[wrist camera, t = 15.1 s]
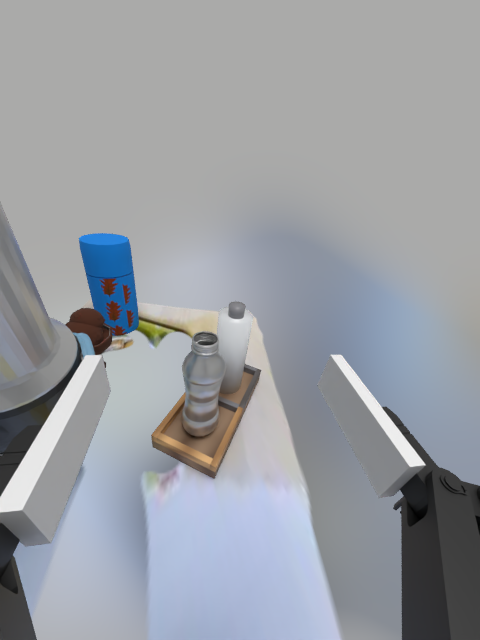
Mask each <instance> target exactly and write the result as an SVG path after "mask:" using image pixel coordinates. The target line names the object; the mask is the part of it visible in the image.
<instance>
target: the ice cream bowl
mask: <svg viewBox="0 0 480 640" xmlns="http://www.w3.org/2000/svg"><path fill="white" fill-rule="evenodd" d="M104 322H105V319H104V318H103V316H102V315H101V313H100V312H98V311H97V310H94V309H90V308H81V309H80V310H77V311H76V312H74V313H73V314H72V315H71V317H70V321H69V322H68V323H67V324H66V326H67V327H68V328H69V329H70V330H71V332H72V333H84V334H87V335H88V336H89V337H90V339H91V342H92V345H93V348H94V352H95V355H100V354H101V353H102V352H103V351H105V350H106V349H107V348H108V347H109V346H110V345H111V342H112V327H111V326H109V325H107V324H105V323H104ZM104 365H105V368H106V363H105V362H104Z"/></svg>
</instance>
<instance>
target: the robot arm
mask: <svg viewBox="0 0 480 640" xmlns="http://www.w3.org/2000/svg"><path fill="white" fill-rule="evenodd" d="M317 386H318V387H319V389H320V391H321V393H322V395H323V397H324V398H325V400H326V402H327V404H328V406H329V408H330V409H331V411H332V413H333V415H334V417H335V419H336V420H337V422H338V424H339V426H340V428H341V430H342V431H343V433H344V435H345V437H346V438H347V440H348V442H349V444H350V446H351V448H352V450H353V451H354V453H355V455H356V457H357V459H358V460H359V462H360V464H361V466H362V468H363V470H364V471H365V473H366V475H367V477H368V479H369V481H370V482H371V484H372V486H373V488H374V490H375V492H376V493H377V495H378V497H379V498H381V497H388V496H394V495H395V494H396V493H397V492H398V491H399V490H401V492H402V494H403V495H404V496H403V498H401V499H400V500H399V501H398V502H397V503H396V504H395V505H394V508H393V509H395V510H397V509H398V508H399V507H400V506H401V511H400V513H401V515H402V640H480V486H478V485H474V484H470V483H467V482H463V481H461V480H460V479H459V478H458V477H457V476H456V475H454V474H453V473H451V472H450V471H448V470H445V469H443V468H439V467H438V466H437V465H436V464H435V463H434V461H433V460H432V459H431V458H430V456H429V455H428V454H427V453H426V451H425V450H424V449H423V448H422V446H421V445H420V444H419V443H418V442H417V440H416V439H415V438H414V436H413V435H412V434H410V432H409V430H408V429H407V428H406V427H405V426H404V424H403V423H402V422H401V420H400V419H399V418H398V417H397V415H395V414H394V413H393V412H392V411H391V410H390V409H388V408H387V407H381V406H380V405H379V403H378V402H377V401H376V399H375V398H374V397H373V396H372V394H371V393H370V392H369V390H368V389H367V388H366V386H365V385H364V384H363V382H362V381H361V380H360V379H359V377H358V376H357V375H356V373H355V372H354V371H353V369H352V368H351V367H350V365H349V364H348V363H347V362H346V360H345V359H344V358H343V357H342V355H330V357H329V360H328V362H327V364H326V366H325V369H324V371H323V373H322V376H321V378H320V380H319V383H318V385H317ZM110 392H111V390H110V387H109V382H108V378H107V374H106V369H105V365H104V361H103V357H102V355H95V352H94V348H93V345H92V342H91V339H90V337H89V336H88V335H87V334H84V333H72V332H71V330H70V329H69V328H68V327H67V326H66V325H65V324H63V323H61V322H60V321H57V320H55V319H53V318H50V317H48V314H47V312H46V309H45V307H44V305H43V302H42V300H41V298H40V295H39V293H38V291H37V288H36V286H35V284H34V281H33V279H32V276H31V274H30V272H29V269H28V267H27V264H26V262H25V260H24V258H23V255H22V253H21V250H20V248H19V245H18V244H17V241H16V238H15V236H14V234H13V231H12V229H11V226H10V224H9V222H8V219H7V217H6V215H5V212H4V210H3V208H2V205H1V203H0V454H3V453H4V454H3V455H2V456H0V640H37V639H36V635H35V631H34V628H33V624H32V620H31V617H30V613H29V609H28V606H27V602H26V598H25V594H24V591H23V587H22V583H21V580H20V576H19V572H18V569H17V565H16V561H15V558H14V556H13V553H14V551H15V549H16V547H17V545H18V543H19V541H20V542H21V543H22V544H23V545H24V546H25V547H26V546H34V545H41V544H48V543H51V542H52V539H53V537H54V534H55V532H56V529H57V527H58V524H59V521H60V519H61V516H62V514H63V511H64V509H65V506H66V504H67V501H68V499H69V496H70V493H71V491H72V488H73V486H74V483H75V481H76V478H77V476H78V473H79V471H80V468H81V466H82V463H83V460H84V458H85V455H86V453H87V450H88V447H89V445H90V443H91V440H92V438H93V435H94V432H95V430H96V427H97V425H98V422H99V419H100V417H101V415H102V412H103V409H104V407H105V404H106V402H107V399H108V397H109V394H110Z"/></svg>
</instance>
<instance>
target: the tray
mask: <svg viewBox="0 0 480 640" xmlns="http://www.w3.org/2000/svg"><path fill="white" fill-rule="evenodd" d="M260 372H261V370H259V369H257V368H254V367H251V366H249V365H246V364H245V365H244V370H243V376H242V381H241V386H240V389H239V390H238V391H237V392H235V393H233V394H222V393H219V396H218V408H219V421H218V424H217V426H216V428H215V429H214V430H213V431H212V432H211V433H210V434H208V435H205V436H193V435H191V434H189V433H188V432H186V430H185V429H184V427H183V424H182V420H181V416H182V411H183V408H184V404H185V397H186V392H185V393H184V395H183V396H182V397H181V398H180V400H179V401H178V402H177V403H176V405H175V406H174V407H173V409H172V410H171V411H170V412H169V413H168V415H167V416H166V417H165V418H164V420H163V421H162V423H161V424H160V425H159V426H158V427H157V429H156V430H155V431H154V432H153V434H152V435H151V436H152V444H153V447H154V448H156V449H158V450H160V451H162V452H164V453H166V454H168V455H170V456H171V457H173V458H175V459H177V460H179V461H181V462H183V463H185V464H187V465H189V466H191V467H193V468H195V469H197V470H199V471H201V472H202V473H204V474H206V475H208V476H210V477H212V478H215V476H216V474H217V472H218V469H219V467H220V465H221V463H222V460H223V458H224V456H225V454H226V452H227V449H228V447H229V445H230V443H231V440H232V438H233V436H234V434H235V432H236V429H237V427H238V425H239V423H240V421H241V418H242V416H243V414H244V412H245V409H246V407H247V405H248V403H249V401H250V398H251V396H252V394H253V392H254V389H255V387H256V385H257V383H258V381H259V376H260Z"/></svg>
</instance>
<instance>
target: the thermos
mask: <svg viewBox="0 0 480 640" xmlns="http://www.w3.org/2000/svg"><path fill="white" fill-rule="evenodd" d="M79 243H80V250H81V254H82V258H83V263H84V267H85V271H86V276H87V280H88V284H89V289H90V293H91V297H92V302H93V306H94V310H97V311H98V312H100V313H101V315H102V316H103V318H104V319H105V322H104V323H105V324H107V325H109V326H111V327H112V335H113V336H118V335H124V334H128V333H130V332H132V331H134V330H135V329H136V328H137V327H138V324H139V319H138V307H137V298H136V290H135V281H134V274H133V266H132V256H131V248H130V243H129V239H128V238H127V237H124V236H121V235H116V234H103V233H102V234H88V235H84V236H81V237H80V238H79Z"/></svg>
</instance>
